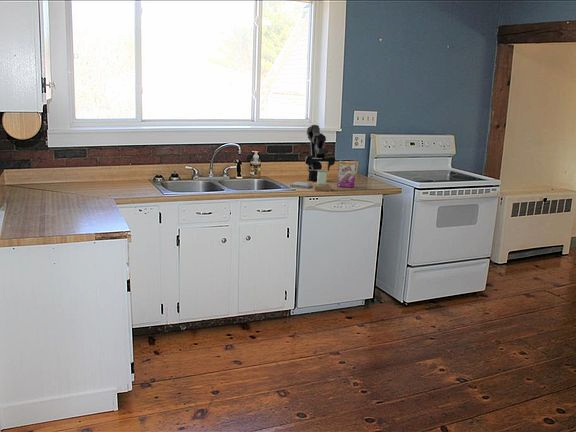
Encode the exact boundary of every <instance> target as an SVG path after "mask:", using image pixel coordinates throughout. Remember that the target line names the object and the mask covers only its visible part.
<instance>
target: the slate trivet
mask: <svg viewBox="0 0 576 432" xmlns="http://www.w3.org/2000/svg"><path fill="white" fill-rule="evenodd" d="M313 184H315V183H314V182H306V181H305V182H303V181H294V182H292V183H290V184H289V187H290V186H292V187H293V188H299V187H300V189H309V188H313ZM292 187H291V188H292Z"/></svg>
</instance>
